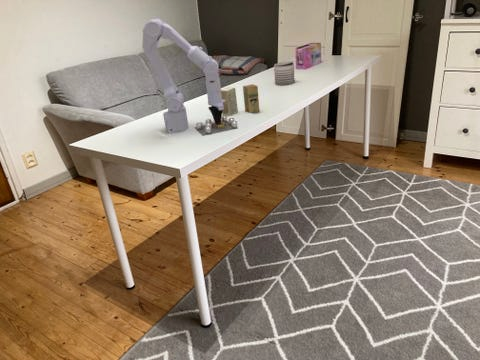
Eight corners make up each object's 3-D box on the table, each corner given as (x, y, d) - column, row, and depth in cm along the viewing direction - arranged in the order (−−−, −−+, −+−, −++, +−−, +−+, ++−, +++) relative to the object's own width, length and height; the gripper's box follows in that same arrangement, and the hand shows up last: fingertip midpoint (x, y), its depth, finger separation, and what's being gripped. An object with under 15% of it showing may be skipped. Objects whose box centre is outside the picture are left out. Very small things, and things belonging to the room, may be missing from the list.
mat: (202, 137, 154) (202, 135, 153) (194, 129, 165) (194, 127, 164) (238, 130, 158) (238, 128, 158) (227, 122, 169) (227, 120, 169)
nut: (219, 129, 158) (219, 125, 158) (213, 127, 162) (213, 123, 161) (227, 126, 160) (227, 123, 160) (221, 124, 164) (221, 121, 163)
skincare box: (231, 113, 181) (228, 86, 176) (238, 114, 179) (235, 87, 174) (222, 116, 177) (218, 90, 172) (229, 118, 175) (226, 90, 169)
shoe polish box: (245, 112, 180) (242, 86, 175) (254, 110, 182) (252, 84, 177) (249, 114, 176) (247, 88, 171) (259, 112, 178) (257, 86, 173)
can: (285, 86, 219) (284, 64, 214) (270, 84, 227) (269, 63, 222) (298, 82, 225) (298, 61, 220) (284, 80, 233) (283, 60, 228)
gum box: (304, 69, 257) (304, 48, 251) (294, 69, 262) (293, 48, 256) (321, 62, 274) (321, 42, 268) (311, 62, 278) (311, 42, 273)
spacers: (203, 135, 154) (202, 129, 152) (195, 127, 164) (194, 121, 163) (239, 127, 158) (239, 121, 157) (229, 120, 168) (229, 114, 167)
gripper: (229, 92, 153) (233, 125, 158) (217, 86, 165) (221, 117, 171) (212, 95, 151) (216, 129, 156) (201, 89, 163) (206, 120, 169)
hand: (218, 123), depth 163 cm, fingers closed
